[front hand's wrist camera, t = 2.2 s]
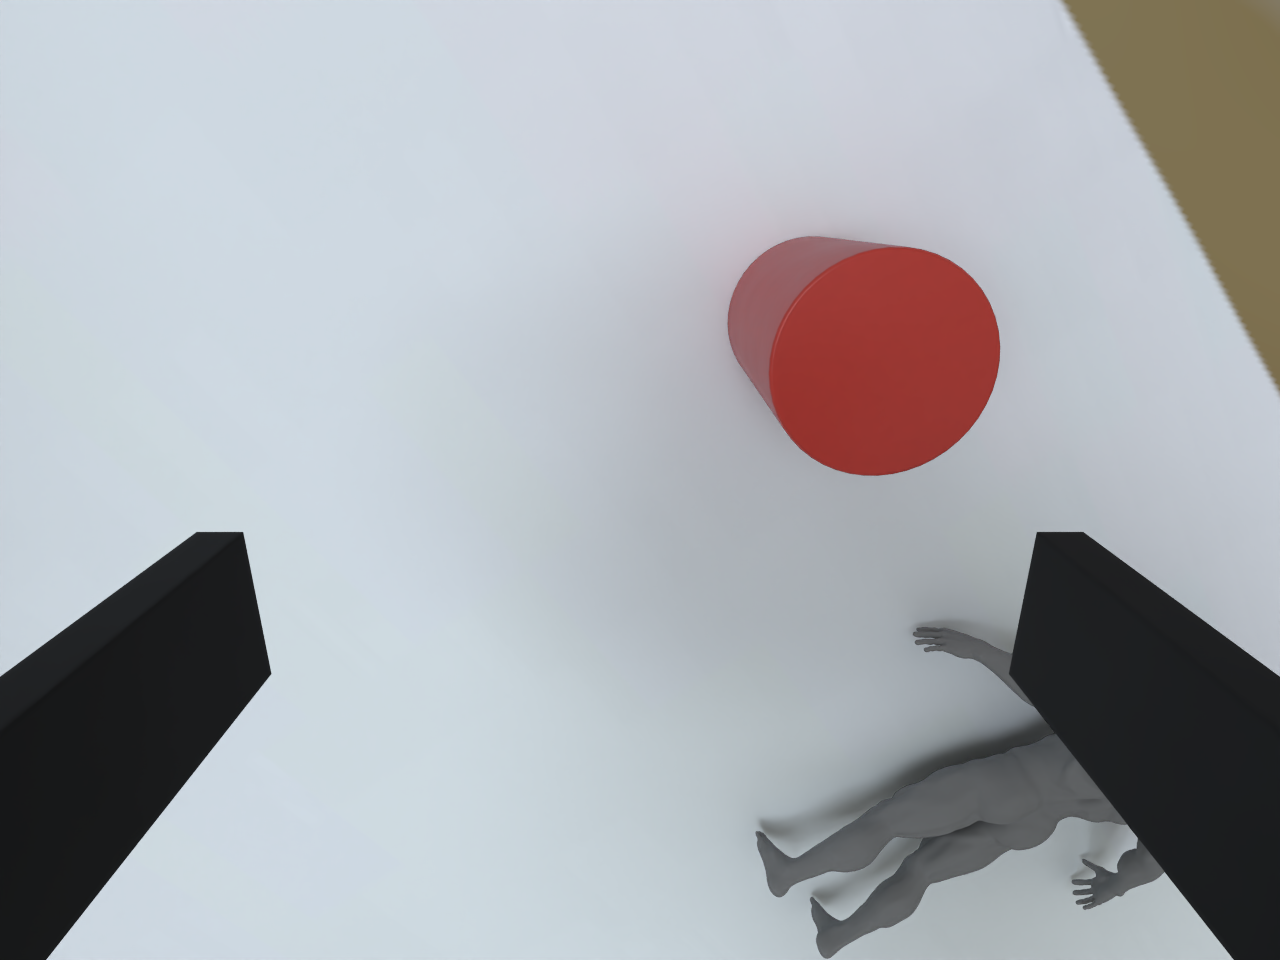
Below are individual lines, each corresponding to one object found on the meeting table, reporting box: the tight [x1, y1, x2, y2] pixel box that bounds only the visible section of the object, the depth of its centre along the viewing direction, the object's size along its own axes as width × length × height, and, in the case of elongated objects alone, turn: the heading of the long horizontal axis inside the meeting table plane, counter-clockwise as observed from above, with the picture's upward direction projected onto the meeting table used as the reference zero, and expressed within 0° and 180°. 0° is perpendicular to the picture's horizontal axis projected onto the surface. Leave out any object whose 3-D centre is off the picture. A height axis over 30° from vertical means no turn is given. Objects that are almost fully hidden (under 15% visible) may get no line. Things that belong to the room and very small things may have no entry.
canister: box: [728, 237, 1000, 476], centre depth 23 cm, size 6×6×9 cm
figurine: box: [756, 627, 1164, 959], centre depth 31 cm, size 17×4×20 cm
